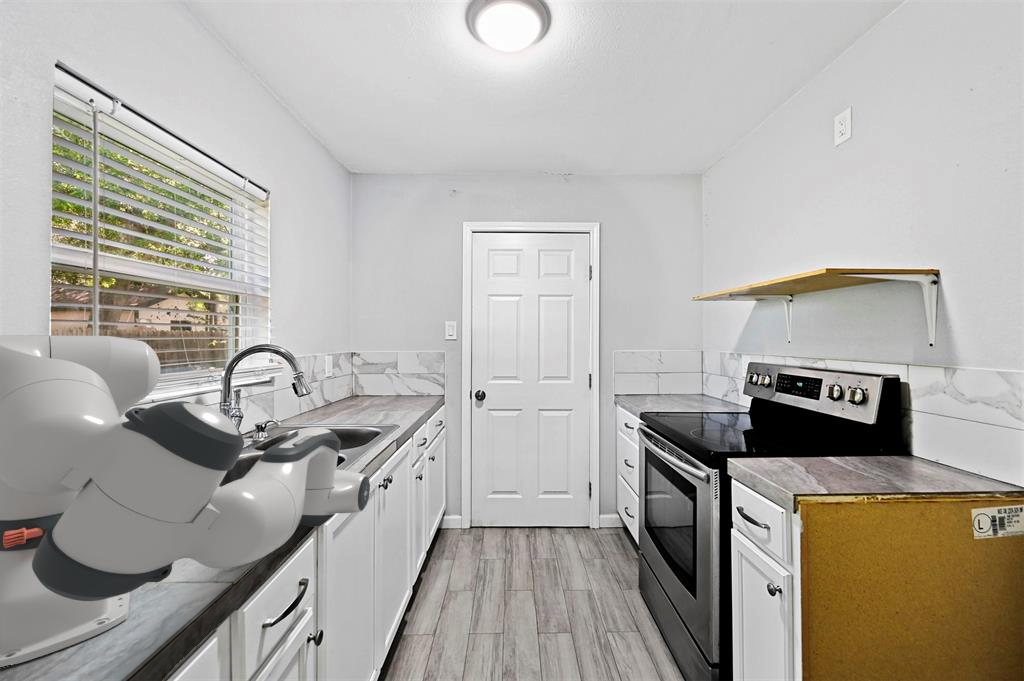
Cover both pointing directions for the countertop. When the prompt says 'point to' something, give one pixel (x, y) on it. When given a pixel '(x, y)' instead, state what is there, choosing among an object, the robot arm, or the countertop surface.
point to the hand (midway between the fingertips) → (245, 484)
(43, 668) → the countertop surface
